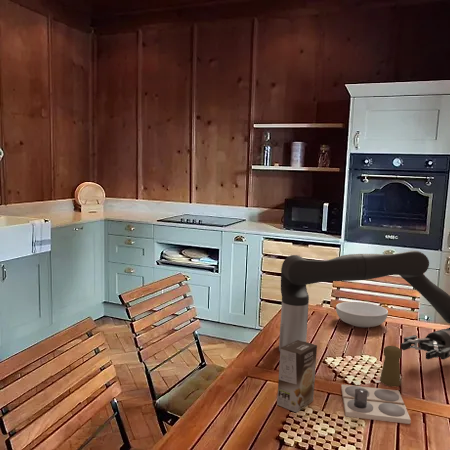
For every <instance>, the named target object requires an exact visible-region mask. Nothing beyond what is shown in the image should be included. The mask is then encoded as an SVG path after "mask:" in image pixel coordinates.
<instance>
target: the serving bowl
mask: <svg viewBox="0 0 450 450" xmlns="http://www.w3.org/2000/svg"><path fill="white" fill-rule="evenodd" d="M335 310H336V314H337V316H338V318H339V319H340V320H341V321H343V322H344V323H346V324H347V325H351V326H354V327H357V328H371V327H372V328H373V327H378V326H379V325H382V324H383V323H384V322H385V321H386V319H387V318H388V315H389V311H388V309H387V308H385V307H383V306H381V305H379V304H378V305H377V304H376V303H375V304H374V303H369V302H363V301H344V302H339V303H337V304H336V305H335Z"/></svg>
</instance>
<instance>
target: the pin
mask: <svg viewBox="0 0 450 450" xmlns="http://www.w3.org/2000/svg"><path fill="white" fill-rule="evenodd" d="M367 394H368V392H367V391H366V390H365V389H361V388H358V389H355V398H354V406H355V407H357V408H362V409H363V408H366V407H367Z"/></svg>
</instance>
